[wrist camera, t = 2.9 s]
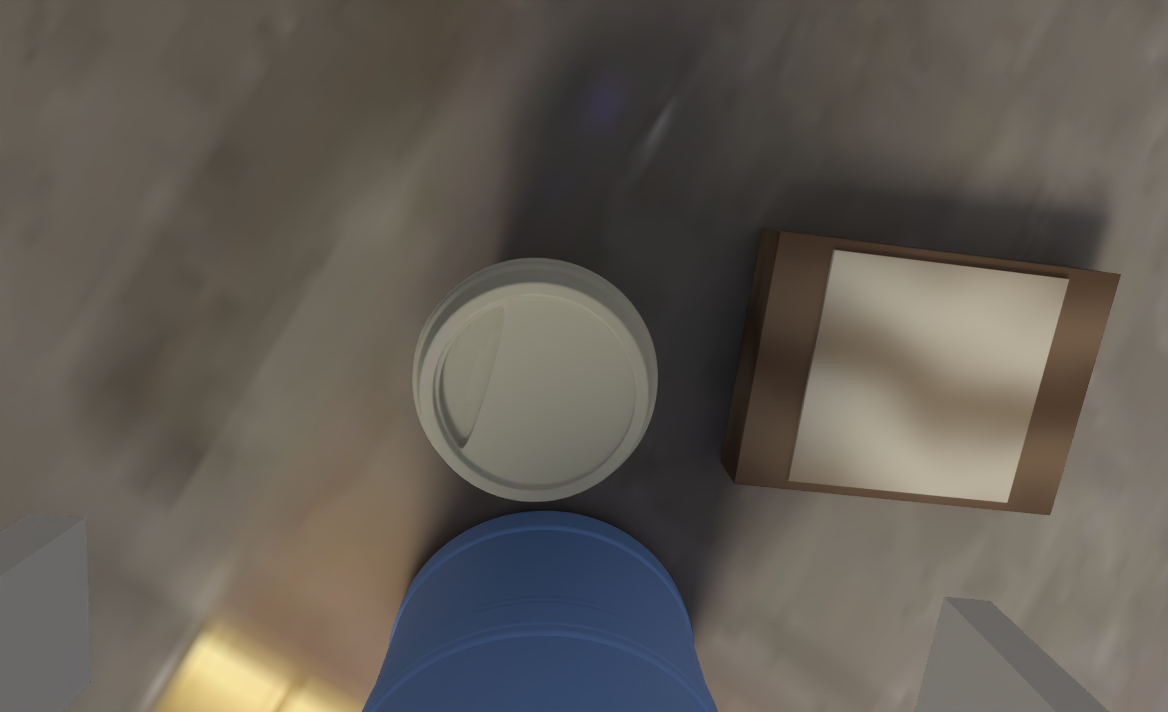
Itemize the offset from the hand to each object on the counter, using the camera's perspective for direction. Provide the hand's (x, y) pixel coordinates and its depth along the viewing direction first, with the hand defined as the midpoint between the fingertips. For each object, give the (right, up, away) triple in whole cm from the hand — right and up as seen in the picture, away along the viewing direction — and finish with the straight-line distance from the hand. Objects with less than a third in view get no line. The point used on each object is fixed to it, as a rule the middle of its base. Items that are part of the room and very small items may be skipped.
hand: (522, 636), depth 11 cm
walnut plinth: (+17, +4, +25) cm, 30 cm away
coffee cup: (-1, +6, +24) cm, 24 cm away
